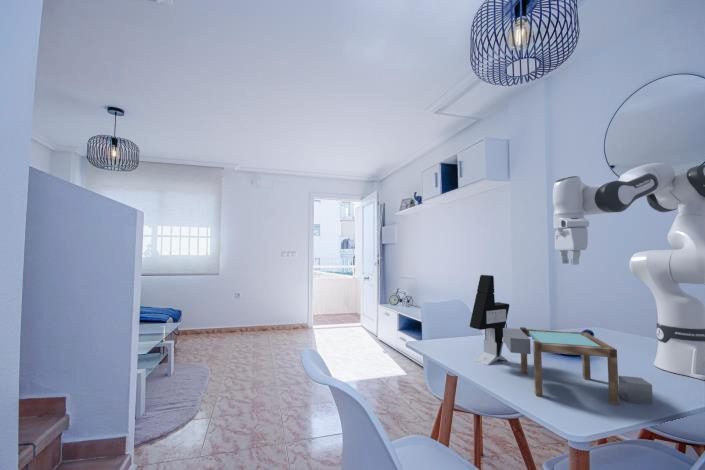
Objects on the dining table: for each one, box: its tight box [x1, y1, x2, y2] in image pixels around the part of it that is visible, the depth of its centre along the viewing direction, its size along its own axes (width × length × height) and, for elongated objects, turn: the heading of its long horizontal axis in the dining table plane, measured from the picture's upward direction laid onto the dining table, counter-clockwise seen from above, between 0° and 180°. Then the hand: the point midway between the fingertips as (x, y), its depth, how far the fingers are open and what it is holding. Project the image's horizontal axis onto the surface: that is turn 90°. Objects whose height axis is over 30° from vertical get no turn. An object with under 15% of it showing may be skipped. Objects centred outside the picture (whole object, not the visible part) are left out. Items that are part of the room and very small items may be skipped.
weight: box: [618, 375, 654, 406], centre depth 85 cm, size 5×5×5 cm
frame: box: [519, 326, 620, 406], centre depth 93 cm, size 18×18×14 cm
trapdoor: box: [502, 327, 601, 355], centre depth 95 cm, size 22×14×4 cm, turn 74°
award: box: [469, 274, 510, 366], centre depth 116 cm, size 15×5×30 cm, turn 117°
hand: (569, 264), depth 112 cm, fingers open, 8 cm apart
